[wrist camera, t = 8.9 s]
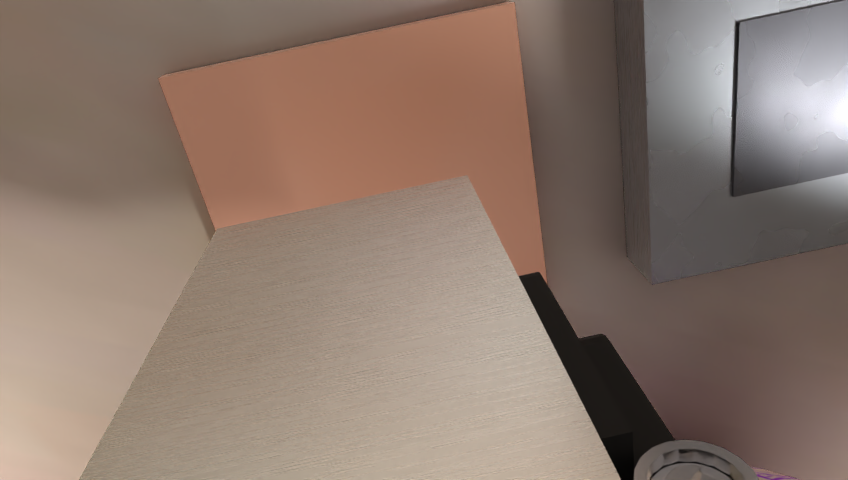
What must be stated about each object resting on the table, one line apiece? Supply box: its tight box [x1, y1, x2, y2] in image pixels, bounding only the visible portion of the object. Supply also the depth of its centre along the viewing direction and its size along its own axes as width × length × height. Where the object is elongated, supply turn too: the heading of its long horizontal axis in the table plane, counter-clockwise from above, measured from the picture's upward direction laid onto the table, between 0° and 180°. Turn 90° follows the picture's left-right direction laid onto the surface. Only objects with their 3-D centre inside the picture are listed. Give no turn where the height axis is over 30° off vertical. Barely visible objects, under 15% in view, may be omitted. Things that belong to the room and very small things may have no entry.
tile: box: [158, 1, 547, 283], centre depth 19 cm, size 10×10×1 cm
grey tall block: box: [79, 175, 621, 480], centre depth 9 cm, size 5×5×9 cm
